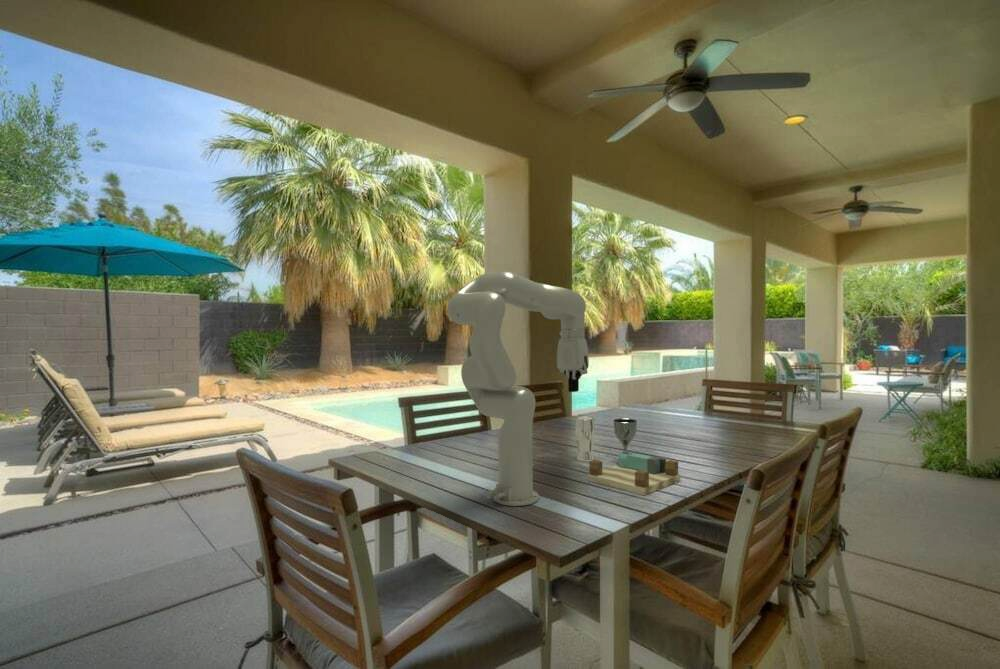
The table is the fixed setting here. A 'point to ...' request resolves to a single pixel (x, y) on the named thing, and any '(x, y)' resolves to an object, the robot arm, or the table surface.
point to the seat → (634, 477)
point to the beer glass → (585, 438)
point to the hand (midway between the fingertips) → (573, 391)
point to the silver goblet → (625, 431)
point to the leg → (639, 462)
